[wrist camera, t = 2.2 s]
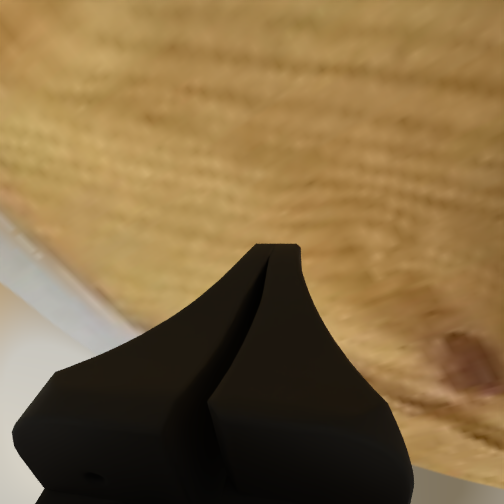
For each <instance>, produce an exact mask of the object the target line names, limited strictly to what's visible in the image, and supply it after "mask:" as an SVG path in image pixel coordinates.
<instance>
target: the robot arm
mask: <svg viewBox="0 0 504 504" xmlns="http://www.w3.org/2000/svg"><path fill="white" fill-rule="evenodd" d="M12 435H13V442H14V446H15V448H16V450H17V452H18V454H19V455H20V457H21V458H22V459H23V461H24V462H25V463H26V465H27V466H28V467H29V469H30V470H31V471H32V473H33V474H34V475H35V477H36V478H37V479H38V481H39V482H40V483H41V484H42V486H43V487H44V488H45V489H44V490H43V492H42V494H41V496H40V497H39V499H38V500H37V502H36V503H35V504H410V503H411V497H412V493H413V488H414V475H413V470H412V466H411V462H410V458H409V455H408V451H407V448H406V445H405V443H404V440H403V437H402V435H401V432H400V430H399V427H398V425H397V423H396V421H395V418H394V416H393V414H392V412H391V409H390V407H389V405H388V403H387V402H386V401H385V400H384V399H383V398H382V397H381V396H380V395H379V394H378V393H377V392H376V391H375V390H374V389H373V388H372V387H371V385H370V384H369V383H368V382H367V381H366V380H365V379H364V378H363V377H362V375H361V374H360V373H359V372H358V371H357V370H356V368H355V367H354V366H353V365H352V364H351V362H350V361H349V360H348V358H347V357H346V356H345V354H344V353H343V351H342V350H341V349H340V347H339V346H338V345H337V343H336V342H335V340H334V339H333V337H332V336H331V334H330V333H329V331H328V329H327V328H326V326H325V324H324V322H323V321H322V319H321V317H320V315H319V313H318V311H317V309H316V307H315V305H314V303H313V301H312V298H311V296H310V294H309V291H308V288H307V286H306V283H305V280H304V276H303V273H302V266H301V247H300V246H298V245H297V244H255V245H254V246H253V247H252V248H251V249H250V250H249V251H248V252H247V253H246V254H245V255H244V256H243V257H242V258H241V259H240V260H239V261H238V262H237V263H236V264H235V265H234V266H233V267H232V268H231V269H230V270H229V271H228V272H227V273H226V274H225V275H224V276H223V277H222V278H221V279H220V280H219V281H218V282H216V283H215V284H214V285H213V286H212V287H211V288H209V289H208V290H207V291H206V292H205V293H204V294H203V295H201V296H200V297H199V298H198V299H196V300H195V301H194V302H192V303H191V304H190V305H188V306H187V307H185V308H184V309H183V310H181V311H180V312H178V313H177V314H175V315H174V316H172V317H171V318H169V319H168V320H166V321H164V322H162V323H161V324H159V325H157V326H156V327H154V328H152V329H151V330H149V331H147V332H145V333H144V334H142V335H140V336H138V337H136V338H134V339H132V340H130V341H128V342H126V343H124V344H122V345H120V346H118V347H116V348H114V349H112V350H109V351H107V352H105V353H103V354H100V355H98V356H96V357H93V358H91V359H88V360H86V361H83V362H81V363H78V364H75V365H73V366H71V367H68V368H65V369H63V370H60V371H57V372H55V373H54V374H53V376H52V377H51V378H50V379H49V381H48V382H47V383H46V385H45V386H44V387H43V388H42V390H41V391H40V392H39V394H38V395H37V396H36V398H35V399H34V400H33V402H32V403H31V404H30V405H29V407H28V408H27V409H26V411H25V412H24V413H23V414H22V416H21V417H20V419H19V420H18V421H17V422H16V424H15V426H14V428H13V431H12Z"/></svg>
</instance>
